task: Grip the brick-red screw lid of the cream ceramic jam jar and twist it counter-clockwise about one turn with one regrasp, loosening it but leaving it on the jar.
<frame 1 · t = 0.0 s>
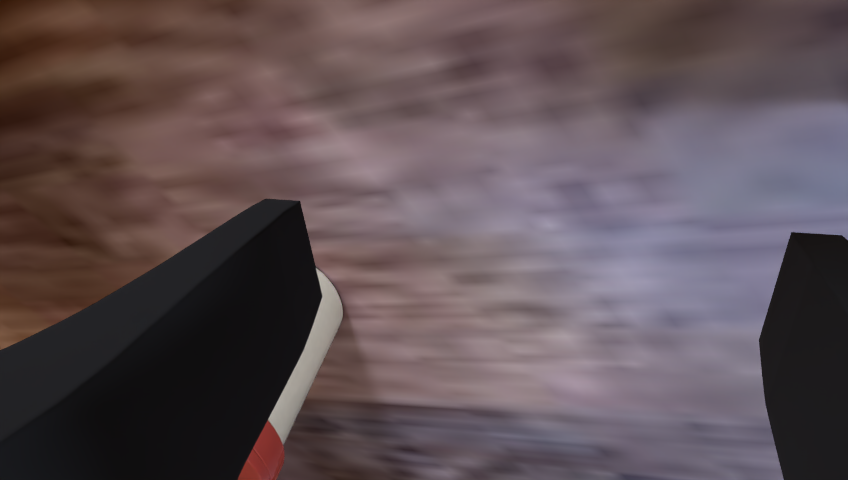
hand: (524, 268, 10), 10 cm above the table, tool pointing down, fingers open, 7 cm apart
jam jar: (282, 298, 27), on the table
jar lid: (186, 458, 21), point 8 cm above the table, screwed on, not yet turned
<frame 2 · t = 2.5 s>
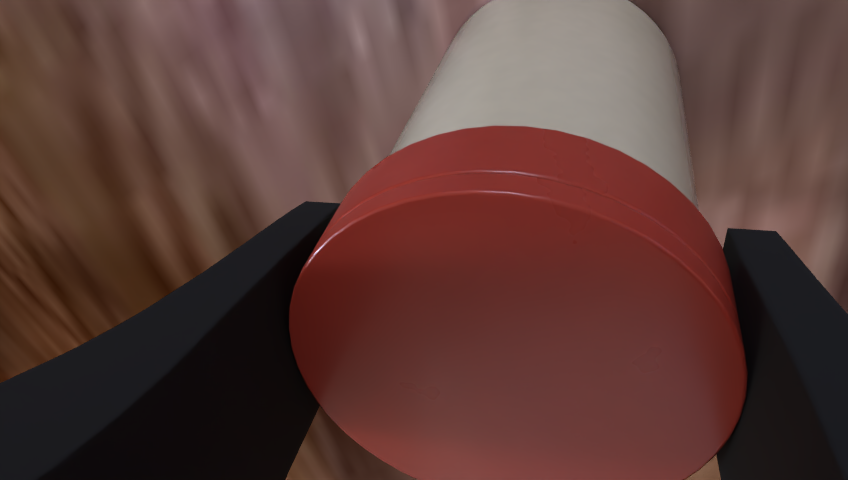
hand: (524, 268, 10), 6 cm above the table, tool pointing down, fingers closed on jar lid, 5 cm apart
jam jar: (554, 101, 15), on the table
jar lid: (504, 358, 9), point 8 cm above the table, screwed on, not yet turned, touching gripper
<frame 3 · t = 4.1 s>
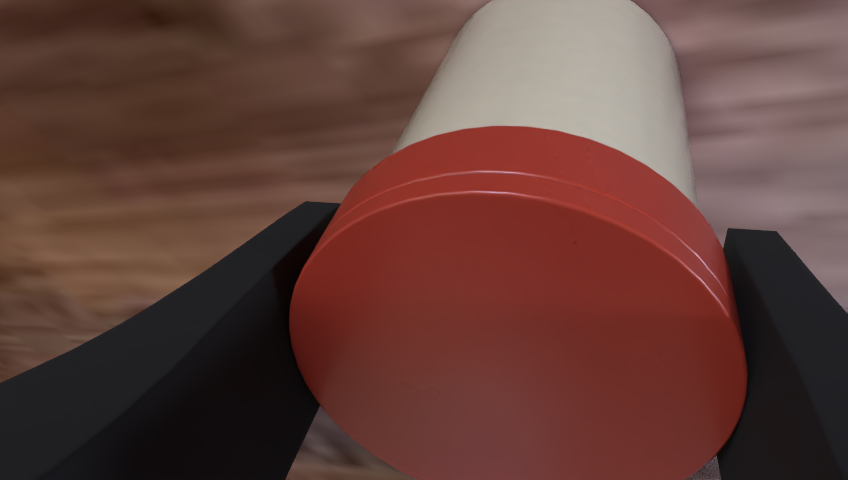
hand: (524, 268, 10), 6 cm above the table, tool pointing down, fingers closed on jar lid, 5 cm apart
jam jar: (555, 100, 15), on the table
jar lid: (504, 358, 9), point 8 cm above the table, turned 84° so far, risen 0.1 cm, still on its thread, touching gripper
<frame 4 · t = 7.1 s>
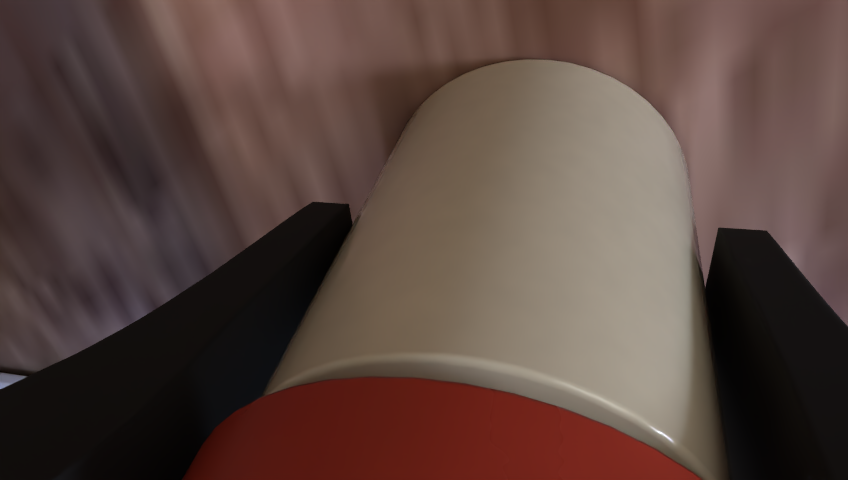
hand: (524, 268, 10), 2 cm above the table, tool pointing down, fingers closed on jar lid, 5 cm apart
jam jar: (533, 197, 12), on the table
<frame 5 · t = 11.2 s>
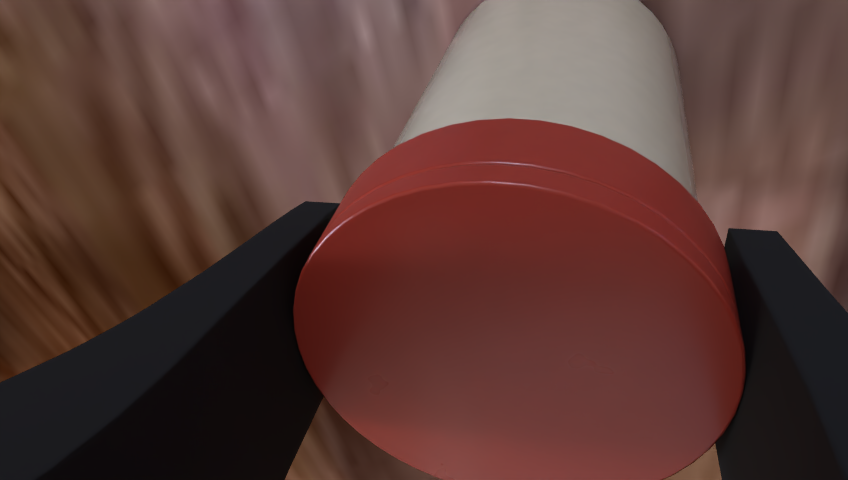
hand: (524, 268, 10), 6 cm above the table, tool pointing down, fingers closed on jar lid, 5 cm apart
jam jar: (555, 93, 15), on the table
jar lid: (505, 348, 9), point 8 cm above the table, turned 174° so far, risen 0.2 cm, still on its thread, touching gripper
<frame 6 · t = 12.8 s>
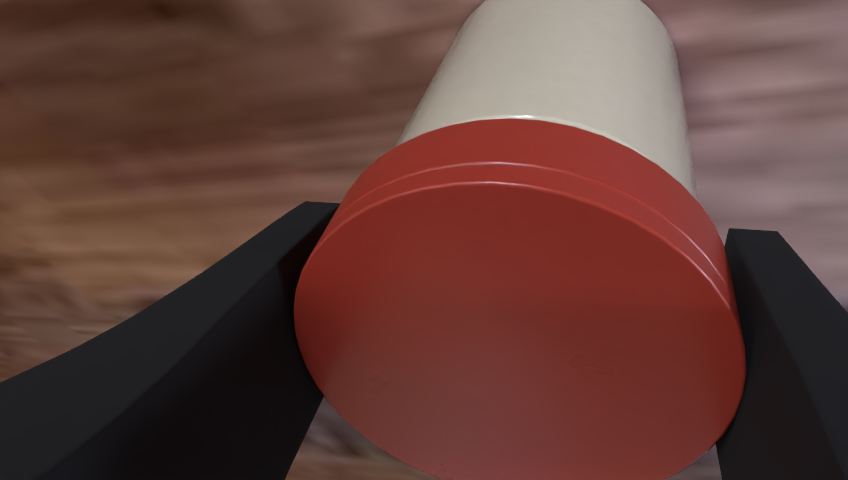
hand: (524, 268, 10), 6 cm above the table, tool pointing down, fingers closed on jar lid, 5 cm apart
jam jar: (556, 92, 15), on the table
jar lid: (506, 349, 9), point 8 cm above the table, turned 258° so far, risen 0.3 cm, still on its thread, touching gripper
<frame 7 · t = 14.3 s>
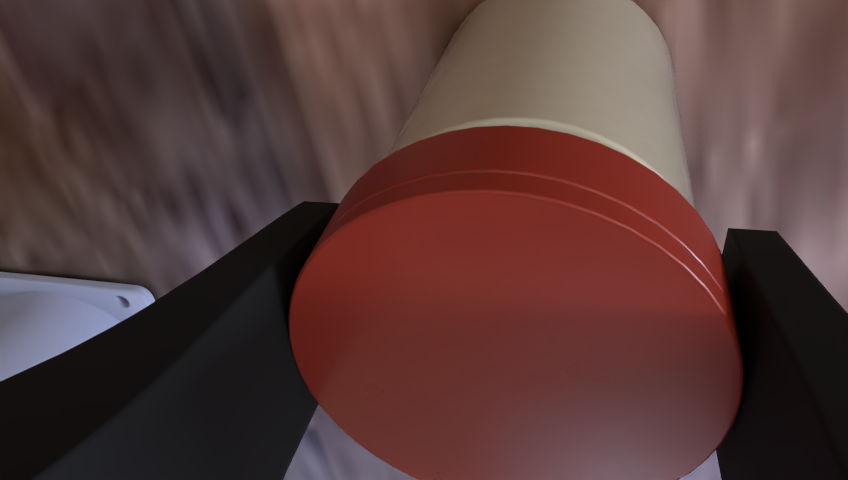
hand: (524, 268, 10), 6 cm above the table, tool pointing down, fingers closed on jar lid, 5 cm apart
jam jar: (552, 94, 15), on the table
jar lid: (502, 357, 9), point 8 cm above the table, turned 347° so far, risen 0.5 cm, still on its thread, touching gripper
when the fingers open (2 cm above the table, at t = 16.1 s): jar lid stays where it is, point 8 cm above the table.
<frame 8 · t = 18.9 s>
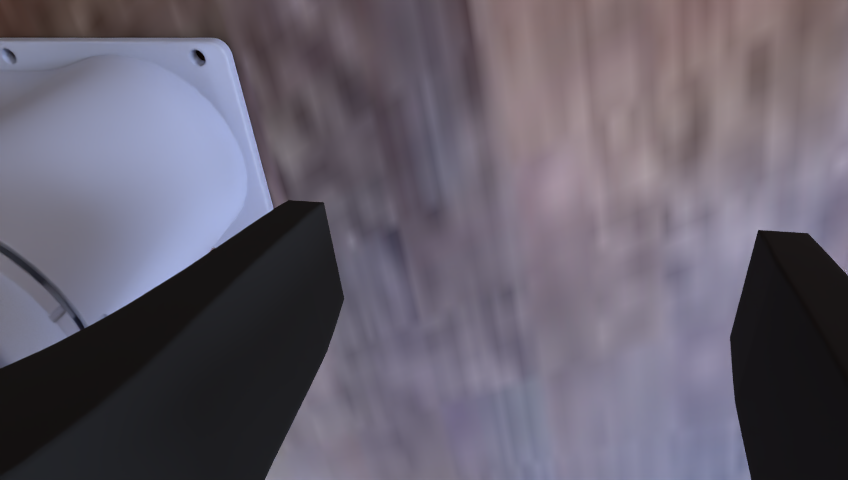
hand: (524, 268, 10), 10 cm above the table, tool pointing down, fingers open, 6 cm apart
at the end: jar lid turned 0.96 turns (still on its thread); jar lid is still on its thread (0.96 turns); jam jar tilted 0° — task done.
